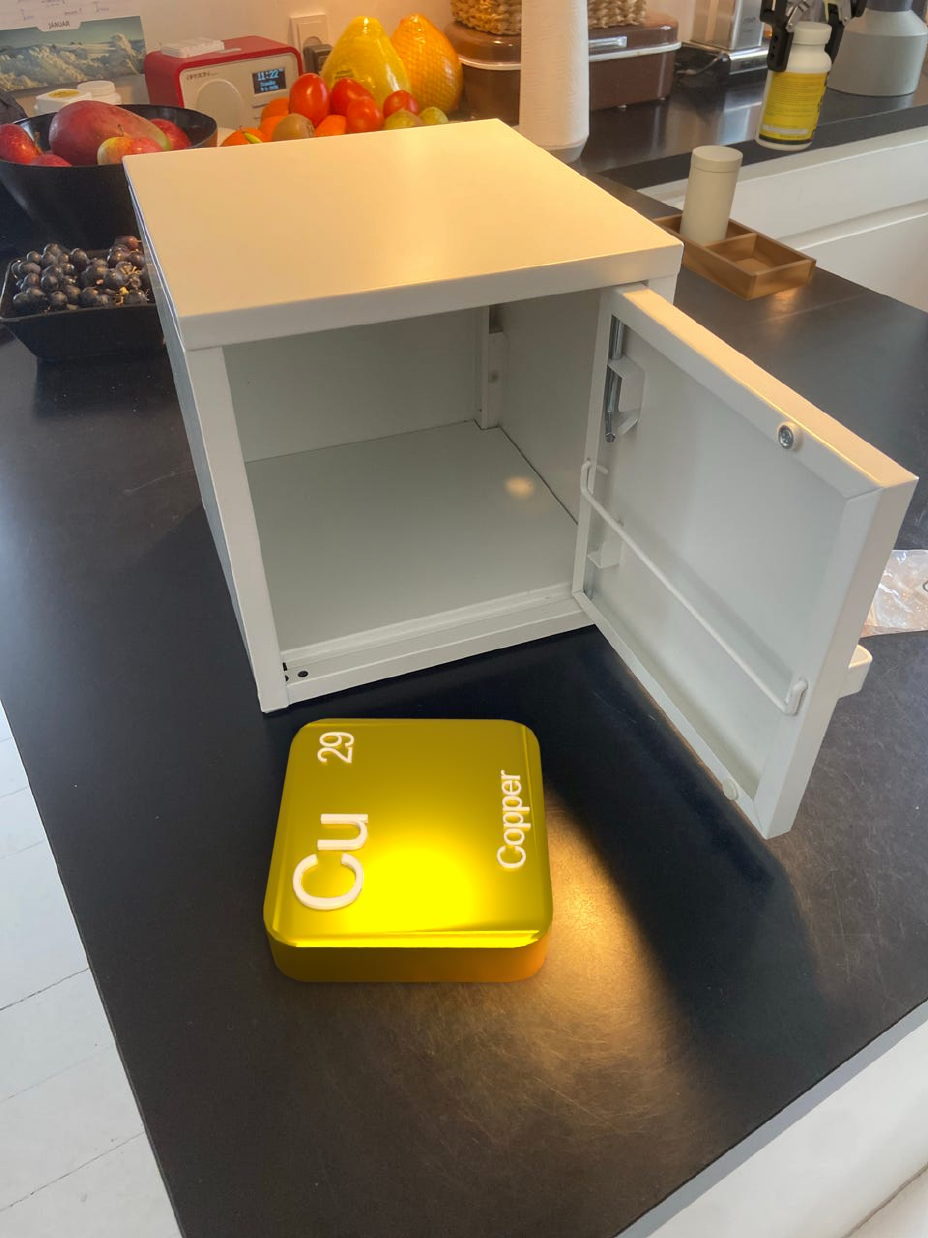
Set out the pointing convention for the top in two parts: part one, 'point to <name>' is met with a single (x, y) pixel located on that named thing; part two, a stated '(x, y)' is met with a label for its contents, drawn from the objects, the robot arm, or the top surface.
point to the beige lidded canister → (710, 193)
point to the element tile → (411, 853)
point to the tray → (744, 260)
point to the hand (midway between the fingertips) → (800, 66)
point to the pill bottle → (796, 91)
